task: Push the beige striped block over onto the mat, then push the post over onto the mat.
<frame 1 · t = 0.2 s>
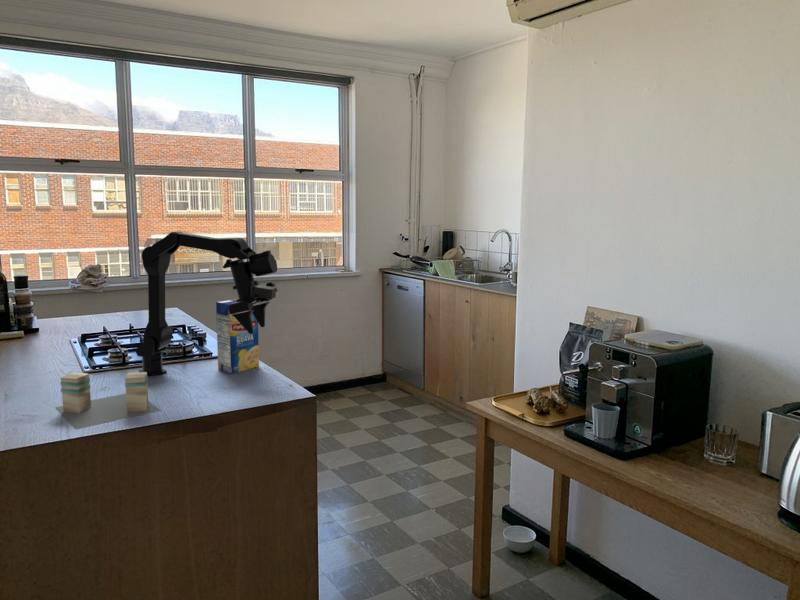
hand: (257, 330, 181), 15 cm above the countertop, tool pointing down, fingers open, 9 cm apart
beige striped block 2: (77, 409, 155), resting on mat
post 1: (138, 408, 157), resting on mat
beverage box: (238, 368, 195), on the countertop
mat: (107, 409, 156), on the countertop
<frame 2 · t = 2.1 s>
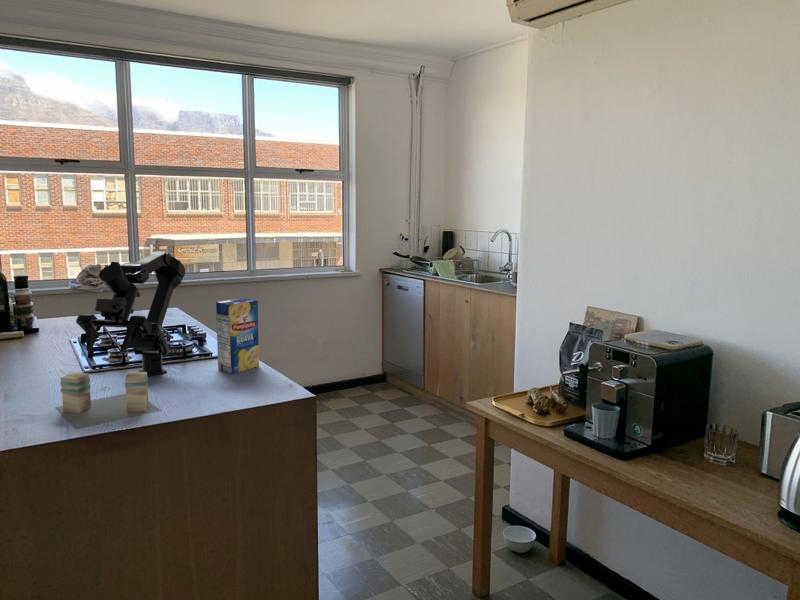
hand: (104, 351, 160), 14 cm above the countertop, tool tilted 45°, fingers open, 9 cm apart
nothing on the countertop moved.
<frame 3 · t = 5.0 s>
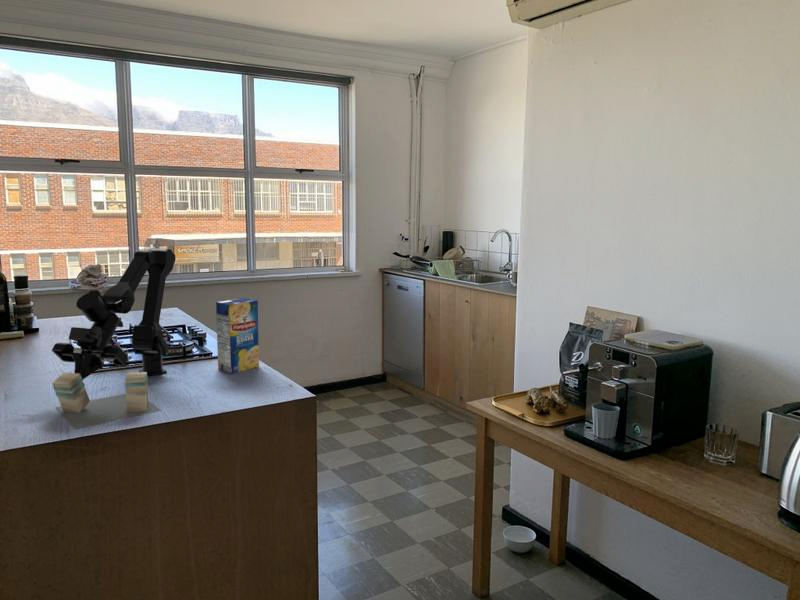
hand: (75, 382, 154), 7 cm above the countertop, tool tilted 45°, fingers closed, pressing on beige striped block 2
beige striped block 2: (76, 406, 155), point 1 cm above the countertop, tilted 20°, touching gripper, mat
everything else where it was.
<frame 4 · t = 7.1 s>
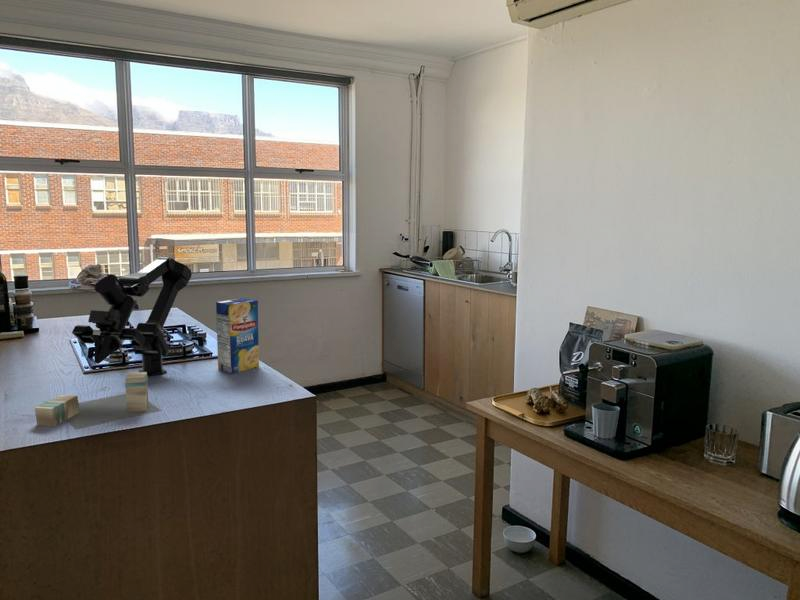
hand: (96, 363, 161), 10 cm above the countertop, tool tilted 45°, fingers closed
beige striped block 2: (70, 403, 152), point 3 cm above the countertop, tilted 92°, touching mat
everything else where it was.
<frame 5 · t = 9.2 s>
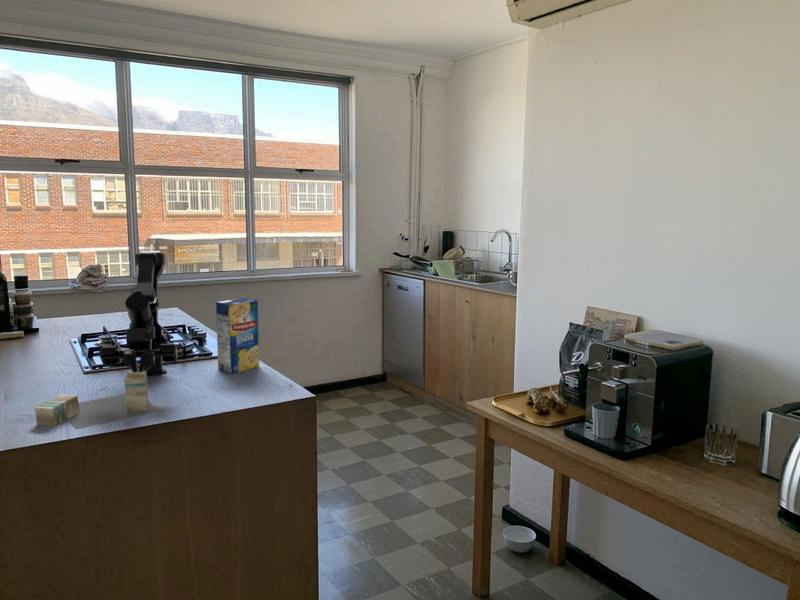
hand: (137, 382, 157), 7 cm above the countertop, tool tilted 45°, fingers closed, pressing on post 1
post 1: (137, 407, 157), point 1 cm above the countertop, tilted 6°, touching gripper, mat
everything else where it was.
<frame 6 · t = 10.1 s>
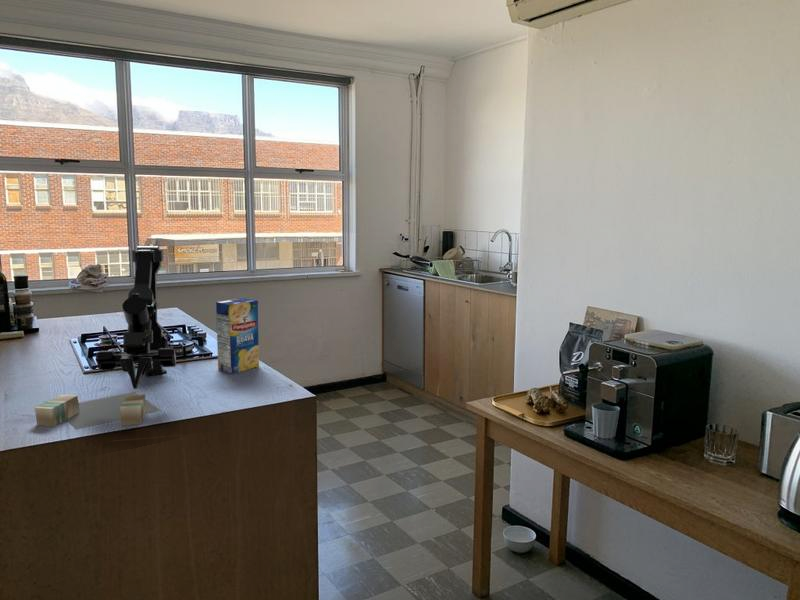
hand: (134, 387, 153), 7 cm above the countertop, tool tilted 45°, fingers closed
post 1: (136, 402, 154), point 3 cm above the countertop, tilted 92°, touching mat
everything else where it was.
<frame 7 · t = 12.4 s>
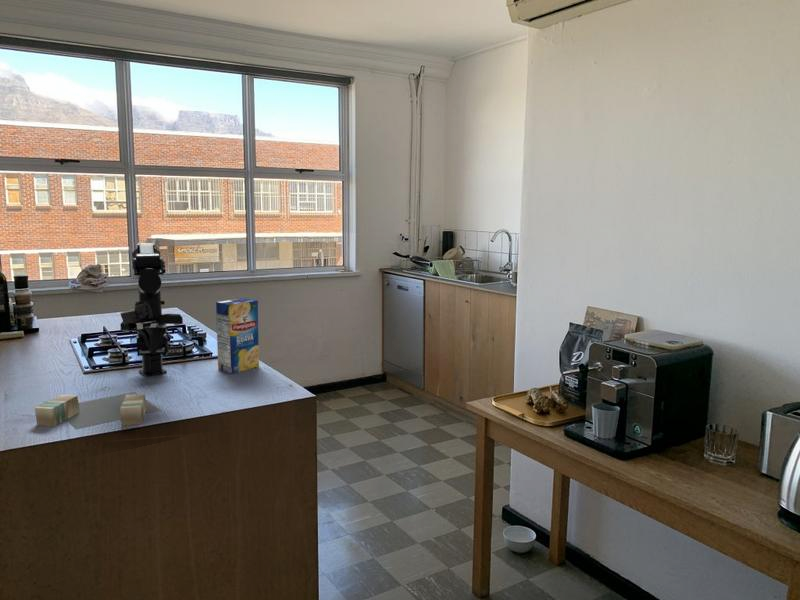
hand: (152, 353, 168), 11 cm above the countertop, tool tilted 15°, fingers closed
nothing on the countertop moved.
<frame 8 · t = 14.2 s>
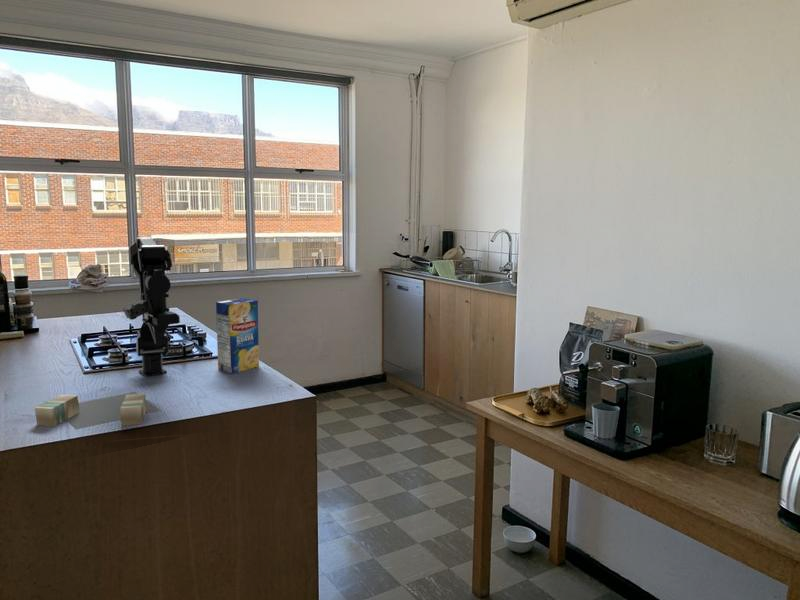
hand: (157, 344, 172), 13 cm above the countertop, tool pointing down, fingers closed
nothing on the countertop moved.
at the end: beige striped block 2 tilted 92°; post 1 tilted 92° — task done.
